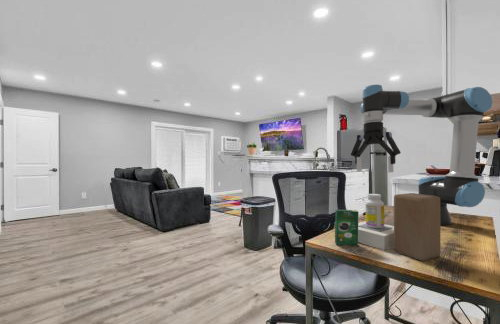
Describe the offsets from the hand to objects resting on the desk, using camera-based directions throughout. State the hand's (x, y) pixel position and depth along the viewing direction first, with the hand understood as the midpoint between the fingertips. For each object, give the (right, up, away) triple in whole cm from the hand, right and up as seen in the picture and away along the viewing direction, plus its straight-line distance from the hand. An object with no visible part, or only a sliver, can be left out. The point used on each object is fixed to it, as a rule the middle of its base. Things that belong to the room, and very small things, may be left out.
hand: (374, 171), depth 105 cm
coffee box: (-17, -27, -13) cm, 34 cm away
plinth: (-4, -27, -7) cm, 28 cm away
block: (+3, -27, -22) cm, 35 cm away
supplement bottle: (-4, -22, -7) cm, 23 cm away
